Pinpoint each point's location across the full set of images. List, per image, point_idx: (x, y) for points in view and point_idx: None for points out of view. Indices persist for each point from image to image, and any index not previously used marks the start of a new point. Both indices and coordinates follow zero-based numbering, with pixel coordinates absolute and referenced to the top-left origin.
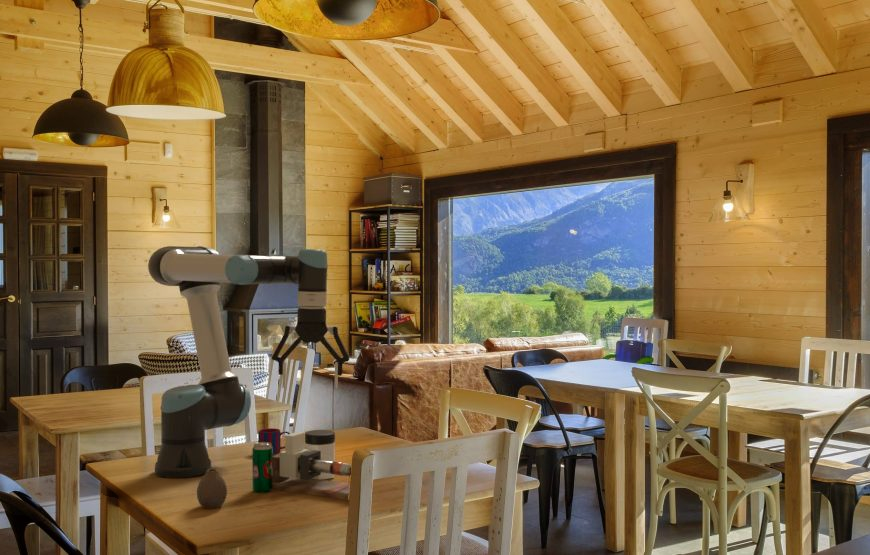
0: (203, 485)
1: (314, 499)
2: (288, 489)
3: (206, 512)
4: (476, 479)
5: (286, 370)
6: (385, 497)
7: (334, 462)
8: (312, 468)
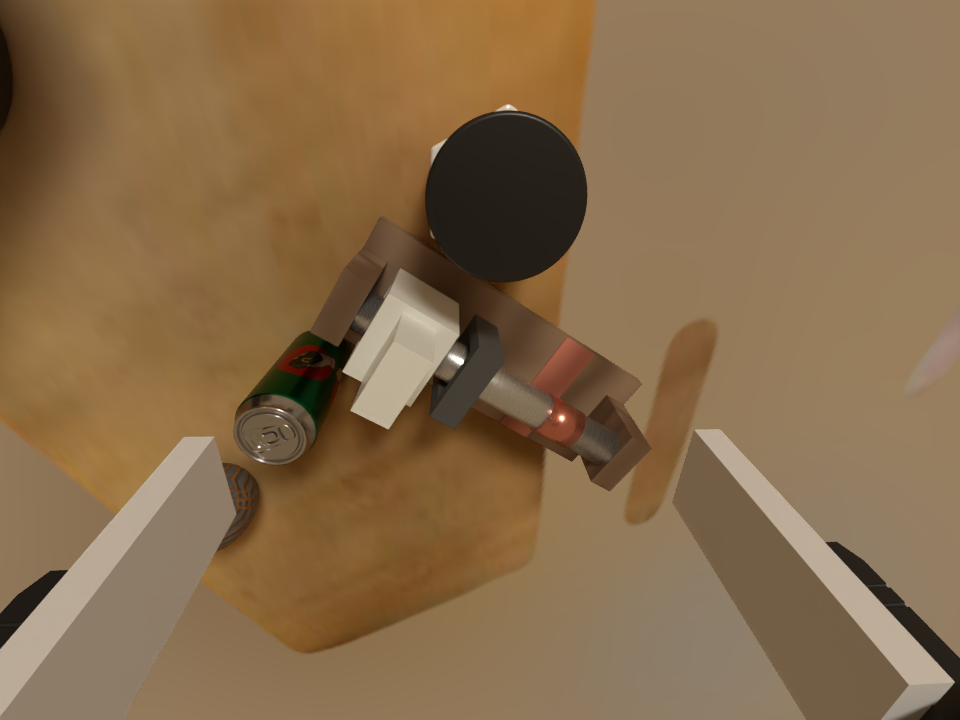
0: None
1: (479, 440)
2: None
3: None
4: None
5: (103, 586)
6: (658, 435)
7: (548, 431)
8: None
